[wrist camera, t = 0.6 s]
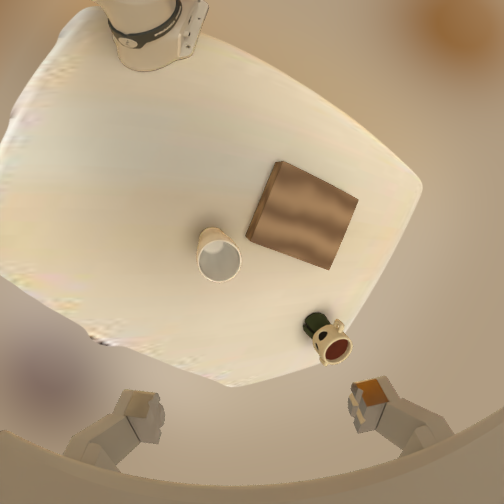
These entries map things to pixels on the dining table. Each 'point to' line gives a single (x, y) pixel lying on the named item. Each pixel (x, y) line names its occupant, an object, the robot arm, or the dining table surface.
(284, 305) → the dining table surface
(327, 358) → the character mug
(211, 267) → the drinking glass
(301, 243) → the walnut riser dock
